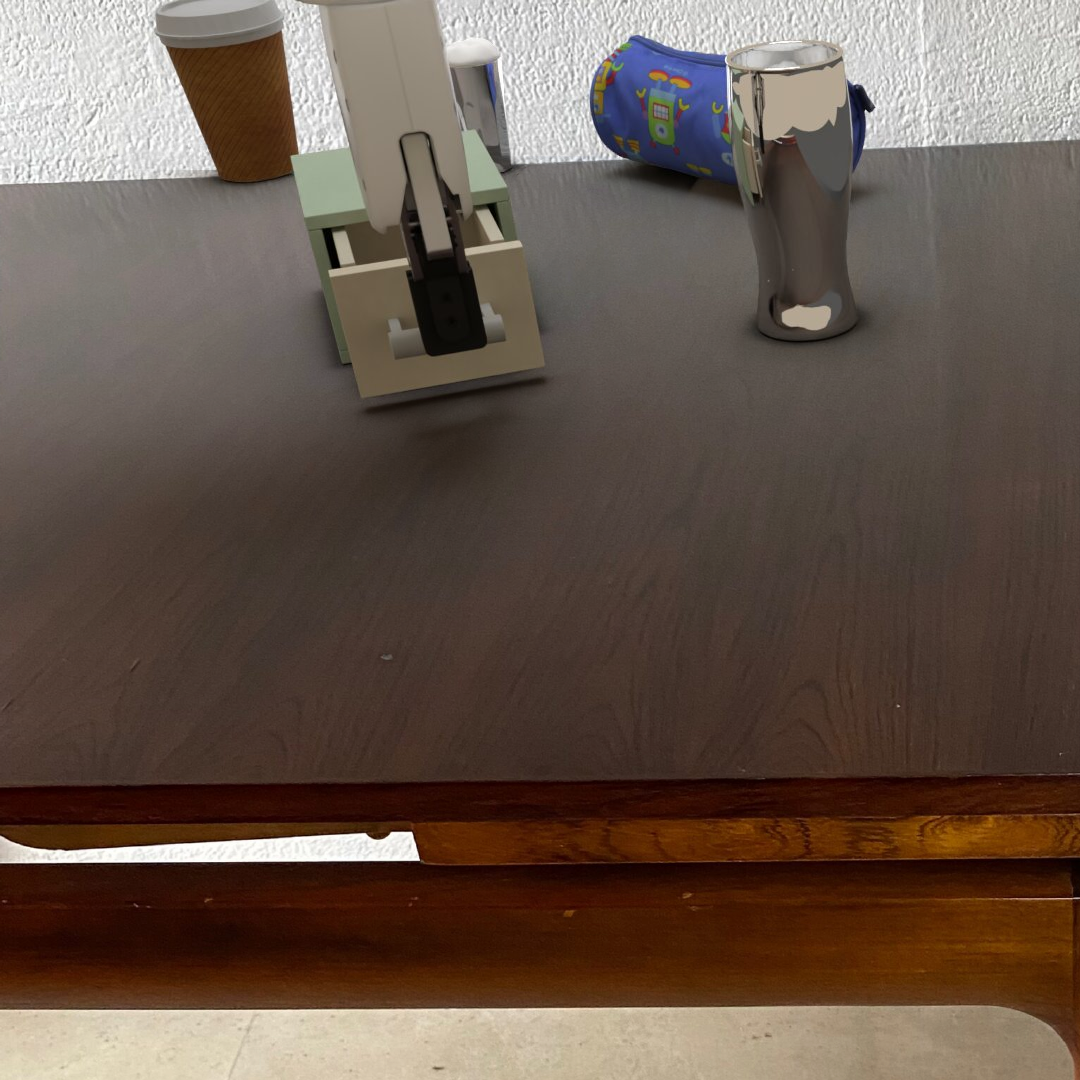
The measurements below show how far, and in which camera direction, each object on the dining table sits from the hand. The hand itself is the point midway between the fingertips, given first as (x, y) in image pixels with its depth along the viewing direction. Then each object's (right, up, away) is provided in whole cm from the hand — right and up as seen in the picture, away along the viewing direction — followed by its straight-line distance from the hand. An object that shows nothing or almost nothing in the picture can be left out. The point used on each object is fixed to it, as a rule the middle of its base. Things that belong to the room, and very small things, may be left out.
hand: (455, 346), depth 90 cm
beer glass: (+18, +6, +15) cm, 24 cm away
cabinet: (-7, +9, +20) cm, 23 cm away
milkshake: (-9, +28, +44) cm, 53 cm away
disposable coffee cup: (-28, +29, +47) cm, 62 cm away
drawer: (-3, +3, +11) cm, 12 cm away
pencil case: (+11, +24, +38) cm, 46 cm away
